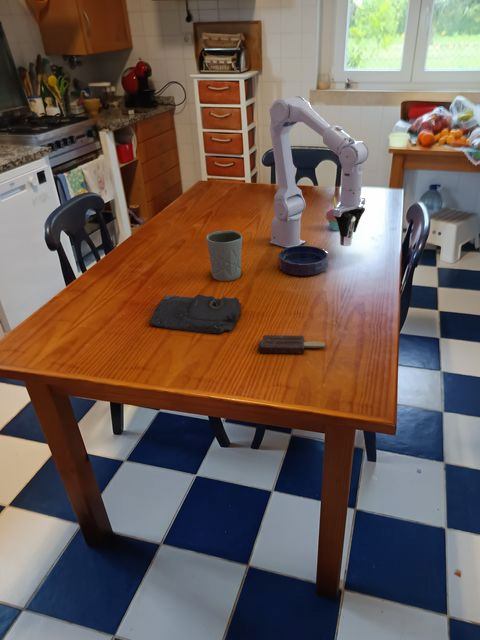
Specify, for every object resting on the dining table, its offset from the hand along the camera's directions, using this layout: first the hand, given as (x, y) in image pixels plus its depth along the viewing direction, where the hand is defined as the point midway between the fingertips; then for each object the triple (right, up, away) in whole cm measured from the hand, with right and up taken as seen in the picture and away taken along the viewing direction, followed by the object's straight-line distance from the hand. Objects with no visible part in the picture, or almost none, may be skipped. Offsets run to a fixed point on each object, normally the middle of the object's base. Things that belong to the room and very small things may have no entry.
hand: (347, 233), depth 146 cm
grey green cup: (-36, -13, -2) cm, 39 cm away
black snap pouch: (-43, -27, -22) cm, 55 cm away
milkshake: (0, -3, +2) cm, 4 cm away
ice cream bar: (-19, -35, -35) cm, 53 cm away
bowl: (-13, -10, +2) cm, 17 cm away
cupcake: (+1, +9, +29) cm, 31 cm away
